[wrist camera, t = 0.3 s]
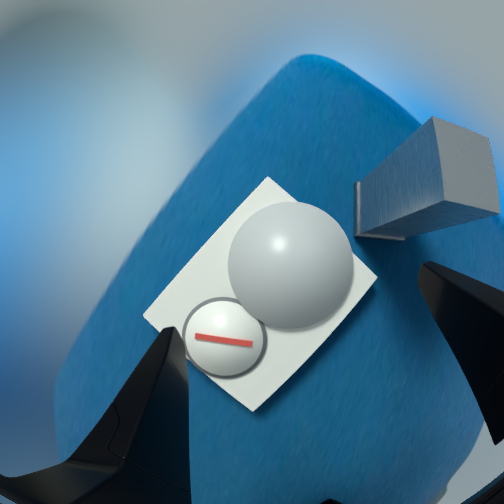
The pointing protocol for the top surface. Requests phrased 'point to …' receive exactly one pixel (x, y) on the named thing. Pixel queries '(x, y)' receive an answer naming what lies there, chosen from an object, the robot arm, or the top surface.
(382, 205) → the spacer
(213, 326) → the scale
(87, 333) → the top surface
